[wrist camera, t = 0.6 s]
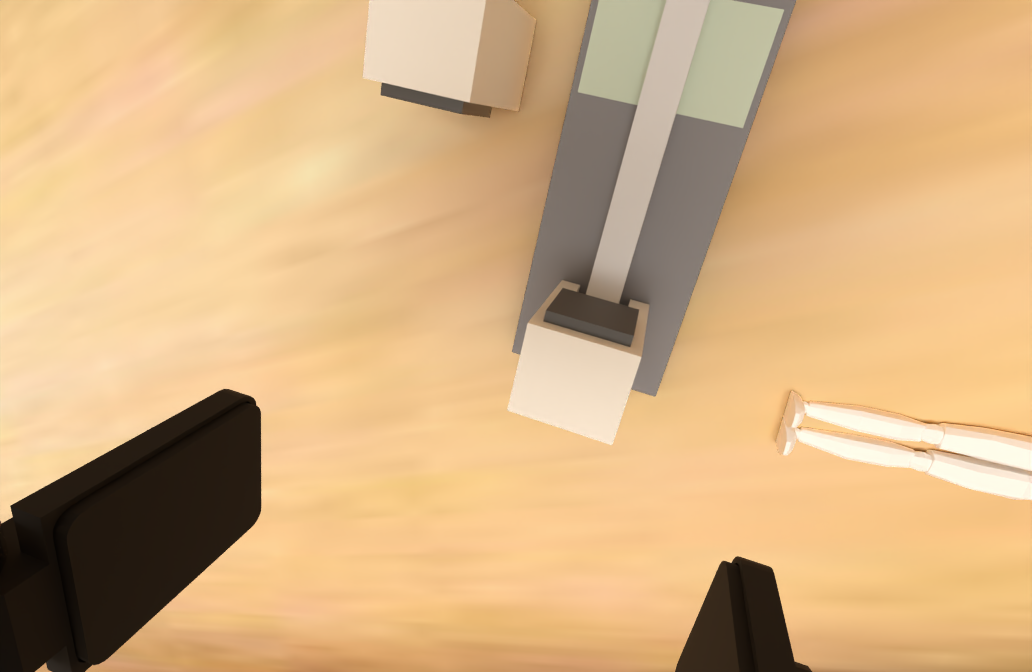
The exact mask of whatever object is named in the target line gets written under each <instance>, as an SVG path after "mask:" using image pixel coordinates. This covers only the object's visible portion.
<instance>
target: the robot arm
mask: <svg viewBox="0 0 1032 672" xmlns="http://www.w3.org/2000/svg"><path fill="white" fill-rule="evenodd" d="M11 511H12V515H13V518H11V519H9V520H7V521H5V522H4V523H2V524H1V521H0V672H35V671H36V670H37V669H39V668H40V667H41V666H42V665H43V664H45V663H46V664H47V668H48V670H50V671H52V672H85V671H86V670H87V669H88V668H89V667H90V666H92V665H97V664H100V663H102V662H104V661H105V660H106V659H108V658H109V657H110V656H111V655H112V654H113V653H114V652H116V651H117V650H118V649H119V648H120V647H121V646H122V645H123V644H124V643H125V642H126V641H128V640H129V639H130V638H131V637H132V636H133V635H134V634H135V633H136V632H137V631H139V630H140V629H141V628H142V627H143V626H144V625H145V624H146V623H147V622H148V621H149V620H151V619H152V618H153V617H154V616H155V615H156V614H157V613H158V612H159V611H160V610H161V609H163V608H164V607H165V606H166V605H167V604H168V603H169V602H170V601H171V600H172V599H174V598H175V597H176V596H177V595H178V594H179V593H180V592H181V591H182V590H183V589H184V588H186V587H187V586H188V585H189V584H190V583H191V582H192V581H193V580H194V579H195V578H197V577H198V576H199V575H200V574H201V573H202V572H203V571H204V570H205V569H206V568H207V567H209V566H210V565H211V564H212V563H213V562H214V561H215V560H216V559H217V558H218V557H219V556H221V555H222V554H223V553H224V552H225V551H226V550H227V549H228V548H229V547H230V546H232V545H233V544H234V543H235V542H236V541H237V540H238V539H239V538H240V537H241V536H242V535H244V534H245V533H246V532H247V531H248V530H249V529H250V528H251V527H252V526H253V525H254V524H255V522H256V521H257V519H258V517H259V515H260V512H261V411H260V409H259V407H257V406H256V401H255V400H254V398H252V397H251V396H248V395H245V394H242V393H239V392H236V391H233V390H230V389H223V390H220V391H218V392H216V393H215V394H213V395H211V396H209V397H207V398H206V399H204V400H202V401H200V402H198V403H196V404H195V405H193V406H191V407H189V408H187V409H186V410H184V411H182V412H180V413H178V414H176V415H175V416H173V417H171V418H169V419H167V420H166V421H164V422H162V423H160V424H158V425H156V426H155V427H153V428H151V429H149V430H147V431H146V432H144V433H142V434H140V435H138V436H136V437H135V438H133V439H131V440H129V441H127V442H126V443H124V444H122V445H120V446H118V447H116V448H115V449H113V450H111V451H109V452H107V453H105V454H104V455H102V456H100V457H98V458H96V459H95V460H93V461H91V462H89V463H87V464H85V465H84V466H82V467H80V468H78V469H76V470H75V471H73V472H71V473H69V474H67V475H65V476H64V477H62V478H60V479H58V480H56V481H55V482H53V483H51V484H49V485H47V486H45V487H44V488H42V489H40V490H38V491H36V492H35V493H33V494H31V495H29V496H27V497H25V498H24V499H22V500H20V501H18V502H16V503H15V504H13V505H11ZM675 672H812V671H811V670H810V668H809V667H808V666H806V665H803V664H800V663H797V662H794V657H793V653H792V649H791V644H790V640H789V636H788V631H787V627H786V623H785V618H784V614H783V610H782V605H781V601H780V597H779V592H778V588H777V584H776V580H775V575H774V572H773V569H772V568H771V567H769V566H766V565H763V564H760V563H757V562H754V561H751V560H748V559H745V558H742V557H735V558H734V559H733V561H732V563H729V562H726V561H722V562H721V564H720V565H719V568H718V570H717V572H716V575H715V577H714V579H713V582H712V584H711V586H710V589H709V591H708V593H707V596H706V598H705V600H704V603H703V605H702V607H701V610H700V612H699V614H698V617H697V619H696V621H695V624H694V626H693V628H692V631H691V633H690V635H689V638H688V640H687V642H686V645H685V647H684V649H683V652H682V654H681V656H680V659H679V661H678V664H677V667H676V670H675Z"/></svg>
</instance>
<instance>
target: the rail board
mask: <svg viewBox="0 0 1032 672" xmlns="http://www.w3.org/2000/svg"><path fill="white" fill-rule="evenodd" d="M795 3H796V0H592V1H591V5H590V10H589V14H588V18H587V23H586V27H585V32H584V36H583V40H582V45H581V49H580V54H579V58H578V63H577V67H576V71H575V76H574V80H573V85H572V89H571V93H570V98H569V102H568V107H567V111H566V115H565V120H564V124H563V129H562V133H561V138H560V142H559V146H558V151H557V155H556V160H555V164H554V168H553V173H552V177H551V182H550V186H549V190H548V195H547V199H546V204H545V208H544V213H543V217H542V221H541V226H540V230H539V235H538V239H537V243H536V248H535V252H534V257H533V261H532V265H531V270H530V274H529V279H528V283H527V287H526V292H525V296H524V301H523V305H522V310H521V314H520V318H519V323H518V327H517V332H516V336H515V340H514V345H513V349H512V352H514V353H517V354H520V358H519V362H518V366H517V371H516V375H515V379H514V384H513V388H512V392H511V396H510V401H509V405H508V409H507V411H510V412H513V413H516V414H519V415H522V416H525V417H528V418H531V419H534V420H538V421H541V422H544V423H547V424H550V425H553V426H556V427H559V428H562V429H565V430H568V431H571V432H574V433H577V434H580V435H583V436H586V437H589V438H592V439H595V440H598V441H601V442H604V443H607V444H610V445H613V442H614V439H615V436H616V433H617V430H618V427H619V424H620V421H621V418H622V415H623V412H624V409H625V406H626V403H627V400H628V397H629V394H630V391H631V389H632V390H635V391H639V392H642V393H645V394H648V395H652V396H656V394H657V391H658V388H659V385H660V382H661V380H662V377H663V374H664V371H665V368H666V366H667V363H668V360H669V357H670V354H671V351H672V349H673V346H674V343H675V340H676V337H677V335H678V332H679V329H680V326H681V323H682V321H683V318H684V315H685V312H686V309H687V306H688V304H689V301H690V298H691V295H692V292H693V290H694V287H695V284H696V281H697V278H698V275H699V273H700V270H701V267H702V264H703V261H704V259H705V256H706V253H707V250H708V247H709V245H710V242H711V239H712V236H713V233H714V230H715V228H716V225H717V222H718V219H719V216H720V214H721V211H722V208H723V205H724V202H725V200H726V197H727V194H728V191H729V188H730V185H731V183H732V180H733V177H734V174H735V171H736V169H737V166H738V163H739V160H740V157H741V155H742V152H743V149H744V146H745V143H746V140H747V138H748V135H749V132H750V129H751V126H752V124H753V121H754V118H755V115H756V112H757V110H758V107H759V104H760V101H761V98H762V95H763V93H764V90H765V87H766V84H767V81H768V79H769V76H770V73H771V70H772V67H773V64H774V62H775V59H776V56H777V53H778V50H779V48H780V45H781V42H782V39H783V36H784V34H785V31H786V28H787V25H788V22H789V19H790V17H791V14H792V11H793V8H794V5H795Z"/></svg>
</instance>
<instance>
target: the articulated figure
mask: <svg viewBox="0 0 1032 672" xmlns="http://www.w3.org/2000/svg"><path fill="white" fill-rule="evenodd" d="M805 413H806V415H807V416H809V417H812V418H815V419H819V420H822V421H825V422H828V423H831V424H835V425H838V426H841V427H844V428H848V429H851V430H854V431H858V432H863V433H867V434H872V435H876V436H881V437H886V438H890V439H895V440H905V441H920V442H921V440H922V441H924V442H926V443H930V444H934V445H935V446H936V448H940V449H944V450H948V451H951V452H955V453H959V454H963V455H967V456H970V457H967V456H962V455H957V454H951V453H946V452H941V451H936V450H927V451H926V453H925V452H921V451H914V450H913V449H911V448H908V447H905V446H902V445H899V444H896V443H894V442H890V441H886V440H880V439H875V438H869V437H864V436H858V435H853V434H847V433H840V432H834V431H827V430H820V429H813V428H806V427H801V428H800V429H799V428H797V426H798V425H799V424H801V422H802V420H803V417H804V414H805ZM796 439H798V441H799V442H802V443H804V444H807V445H810V446H812V447H815V448H818V449H820V450H823V451H826V452H828V453H831V454H834V455H836V456H839V457H842V458H844V459H849V460H854V461H859V462H864V463H870V464H875V465H880V466H885V467H905V468H913V469H915V470H917V471H924V472H925V474H927V475H930V476H933V477H936V478H939V479H942V480H944V481H947V482H950V483H953V484H956V485H959V486H962V487H965V488H968V489H972V490H977V491H981V492H985V493H989V494H993V495H997V496H1002V497H1006V498H1010V499H1014V500H1032V472H1031V471H1032V437H1031V436H1026V435H1021V434H1015V433H1010V432H1005V431H1000V430H995V429H989V428H984V427H975V426H966V425H957V424H949V423H940V424H937V425H936V424H925V423H923V422H920V421H918V420H915V419H912V418H909V417H907V416H904V415H901V414H897V413H892V412H888V411H883V410H878V409H874V408H869V407H864V406H859V405H848V404H838V403H827V402H816V401H809V403H807V402H806V401H802V399H801V396H800V395H798V394H797V393H795V392H794V391H792V390H791V393H790V396H789V399H788V402H787V406H786V409H785V412H784V417H783V419H782V422H781V425H780V428H779V432H778V435H777V438H776V446H777V451H778V453H779V454H780V455H788V454H790V452H791V451H792V449H793V448H794V445H795V442H796ZM973 457H974V458H973Z"/></svg>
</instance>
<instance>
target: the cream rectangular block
mask: <svg viewBox="0 0 1032 672" xmlns="http://www.w3.org/2000/svg"><path fill="white" fill-rule="evenodd" d="M536 21H537V20H536V19H535V18H534V17H532V16H531V15H530V14H529V13H528V12H527V11H525V10H524V9H523V8H522V7H521V6H520V5H519V4H517V3H516V2H515V1H514V0H369V11H368V23H367V34H366V46H365V57H364V69H363V78H365V79H369V80H374V81H378V82H382V86H381V95H382V96H387V97H391V98H395V99H399V100H404V101H408V102H412V103H417V104H421V105H425V106H429V107H434V108H438V109H442V110H446V111H451V112H455V113H459V114H465V115H473V116H481V117H489V118H490V113H491V108H492V107H496V108H502V109H507V110H513V111H518V112H519V108H520V103H521V98H522V93H523V87H524V82H525V77H526V72H527V67H528V62H529V57H530V51H531V46H532V41H533V36H534V31H535V26H536Z"/></svg>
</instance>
